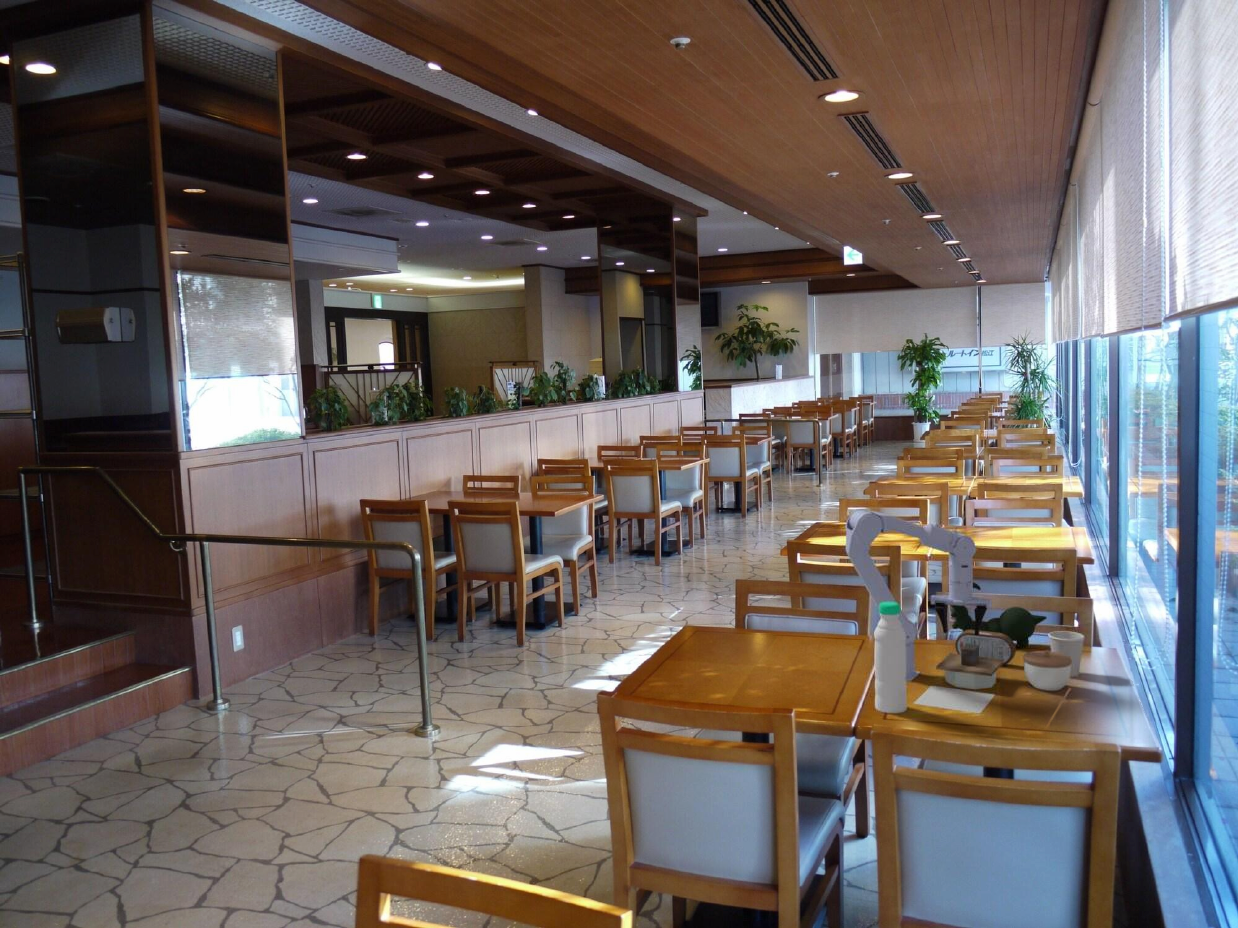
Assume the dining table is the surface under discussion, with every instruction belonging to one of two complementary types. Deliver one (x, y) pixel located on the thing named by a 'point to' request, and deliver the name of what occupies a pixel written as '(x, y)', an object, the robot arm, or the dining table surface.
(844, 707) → the dining table surface
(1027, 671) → the lidded jar
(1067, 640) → the dixie cup
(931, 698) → the mat
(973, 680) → the bowl
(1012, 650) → the tin
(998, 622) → the toy figurine
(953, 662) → the lid
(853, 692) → the dining table surface
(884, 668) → the water bottle
